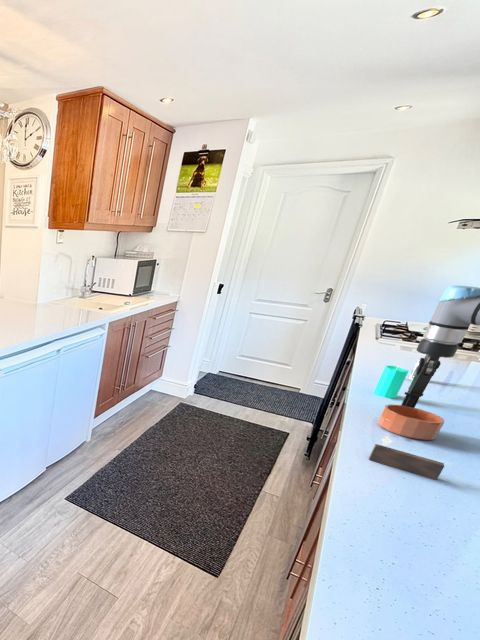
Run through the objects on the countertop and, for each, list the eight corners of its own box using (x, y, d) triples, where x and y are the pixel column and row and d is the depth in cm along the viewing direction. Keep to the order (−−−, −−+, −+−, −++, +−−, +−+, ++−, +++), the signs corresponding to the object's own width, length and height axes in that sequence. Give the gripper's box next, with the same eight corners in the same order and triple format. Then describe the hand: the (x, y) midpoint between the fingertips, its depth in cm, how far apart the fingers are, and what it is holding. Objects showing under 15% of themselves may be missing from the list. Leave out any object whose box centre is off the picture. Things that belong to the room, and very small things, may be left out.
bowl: (433, 432, 120) (443, 414, 118) (435, 446, 112) (445, 427, 110) (377, 418, 128) (386, 401, 126) (375, 429, 120) (384, 411, 118)
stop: (435, 477, 97) (443, 463, 95) (436, 480, 96) (444, 466, 94) (369, 456, 105) (375, 443, 103) (368, 459, 103) (375, 446, 102)
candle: (369, 390, 151) (383, 360, 146) (389, 393, 149) (403, 362, 145) (379, 396, 145) (394, 365, 141) (400, 399, 144) (415, 368, 139)
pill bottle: (428, 382, 162) (437, 362, 159) (412, 380, 164) (422, 361, 161) (420, 378, 166) (430, 359, 163) (406, 377, 168) (415, 357, 165)
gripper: (421, 334, 122) (387, 404, 131) (422, 341, 113) (386, 416, 122) (457, 340, 117) (420, 412, 126) (462, 348, 108) (421, 425, 117)
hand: (403, 414), depth 124 cm, fingers closed
